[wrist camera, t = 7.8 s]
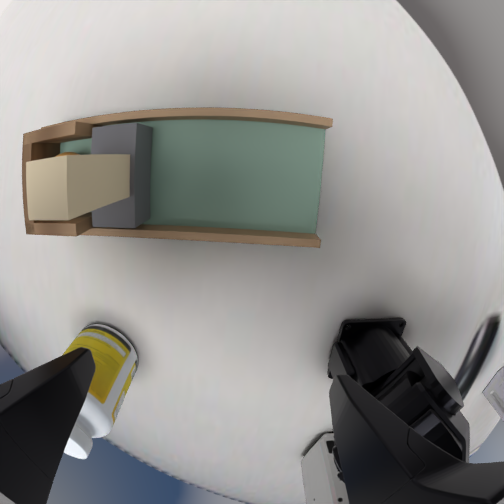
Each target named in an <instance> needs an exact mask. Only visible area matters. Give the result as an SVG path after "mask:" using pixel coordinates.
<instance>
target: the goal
mask: <svg viewBox="0 0 504 504" xmlns="http://www.w3.org/2000/svg"><path fill="white" fill-rule="evenodd" d="M94 127H101V125H95V124H89V123H83V122H77V121H75V122H70V123H65V124H60V125H56V126H51V127H47V128H43V129H39V130H36V131H32V132H28V133H25V134H23V152H22V186H23V205H24V217H25V226H26V234H34V235H57V236H78V235H80V234H82V233H84V232H86V231H88V230H90V229H92V228H94V227H93V224H92V212H88V213H85V214H83V215H81V216H78V217H76V218H73V219H71V220H29V218H28V206H27V189H26V162H29V161H35V160H40V159H46V158H52V157H55V156H57V155H59V154H60V145H61V143H63V142H69V141H75V140H82V139H89V138H92V128H94Z"/></svg>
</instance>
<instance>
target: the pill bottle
mask: <svg viewBox="0 0 504 504" xmlns="http://www.w3.org/2000/svg"><path fill="white" fill-rule="evenodd" d="M79 347H84V348H88V349H90V350H91V352H92V356H93V359H94V362H95V366H96V369H95V373H94V376H93V379H92V381H91V384H90V387H89V390H88V393H87V397H86V399H85V402H84V404H83V407H82V409H81V411H80V413H79V416H78V418H77V420H76V423H75V425H74V427H73V430H72V432H71V435H70V437H69V440H68V442H67V445H66V447H65V450H64V453H66V454H68V455H70V456H73V457H76V458H79V459H86V458H87V457H88V455H89V453H90V450H91V448H92V444H93V443H92V440H91V438H98V437H103V436H105V435H107V434H108V433H109V432H110V431H111V429H112V427H113V425H114V422H115V420H116V417H117V415H118V412H119V410H120V407H121V405H122V403H123V400H124V398H125V395H126V393H127V391H128V388H129V386H130V384H131V381H132V379H133V377H134V374H135V372H136V370H137V366H138V359H137V355H136V352H135V350H134V348H133V346H132V345H131V343H130V342H129V341H128V340H127V339H126V338H125V337H124V336H123V335H122V334H121V333H119V332H118V331H116V330H114V329H113V328H110V327H108V326H105V325H100V324H93V325H89V326H87V327H85V328H84V329H83V330H82V331H81V332H80V333H79V335H78V336H77V337H76V338H75V340H74V341H73V342H72V343H71V345H70V346H69V347H68V349H67V350H66V351H65V352H64V354H67V353H69V352H71V351H73V350H75V349H77V348H79ZM64 354H63V355H64Z"/></svg>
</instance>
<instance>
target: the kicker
mask: <svg viewBox="0 0 504 504" xmlns="http://www.w3.org/2000/svg"><path fill="white" fill-rule="evenodd" d="M152 131H153V128H152V127H149V126H146V125H143V124H140V123H127V124H118V125H109V126H101V127H94V128H92V144H91V154H90V155H66V156H59V157H52V158H46V159H40V160H35V161H29V162H26V189H27V206H28V218H29V220H71V219H73V218H76V217H78V216H81V215H83V214H85V213H88V212H90V211H92V224H93V227H116V228H136V227H138V226H139V225H141V224H142V223H144V222H145V221H147V220H149V219H150V174H151V147H152Z"/></svg>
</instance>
